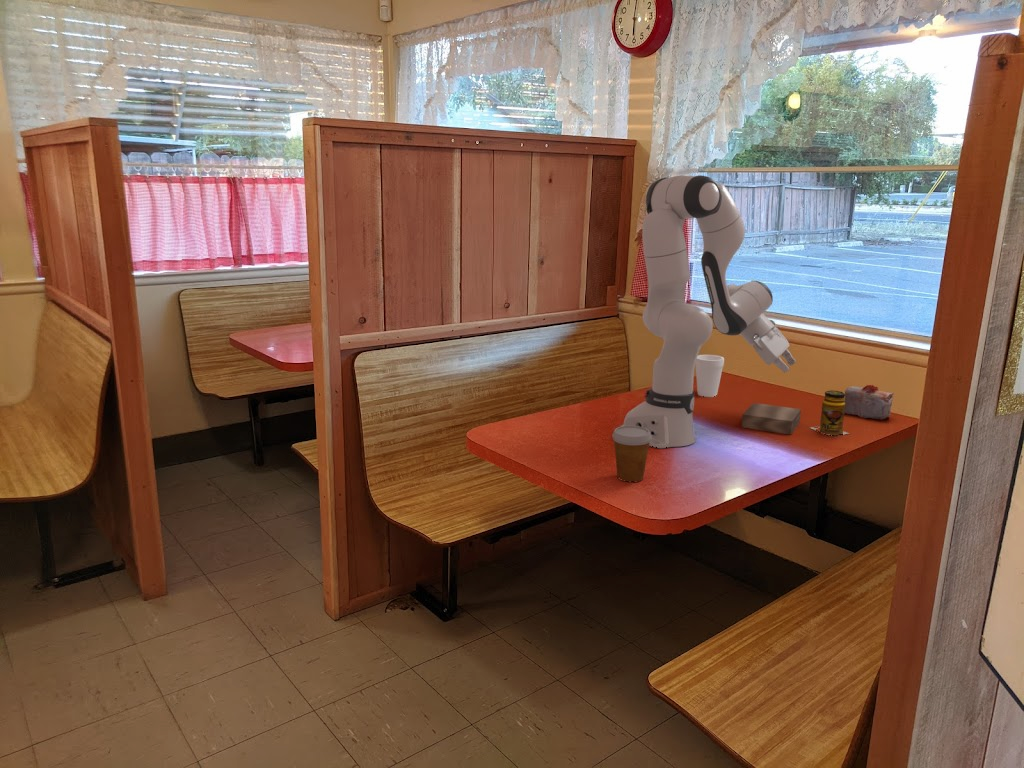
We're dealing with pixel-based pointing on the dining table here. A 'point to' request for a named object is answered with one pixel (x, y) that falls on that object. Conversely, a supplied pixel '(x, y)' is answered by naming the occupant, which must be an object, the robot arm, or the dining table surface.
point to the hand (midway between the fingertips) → (790, 367)
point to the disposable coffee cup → (631, 451)
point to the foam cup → (708, 374)
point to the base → (771, 418)
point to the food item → (868, 402)
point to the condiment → (832, 413)
